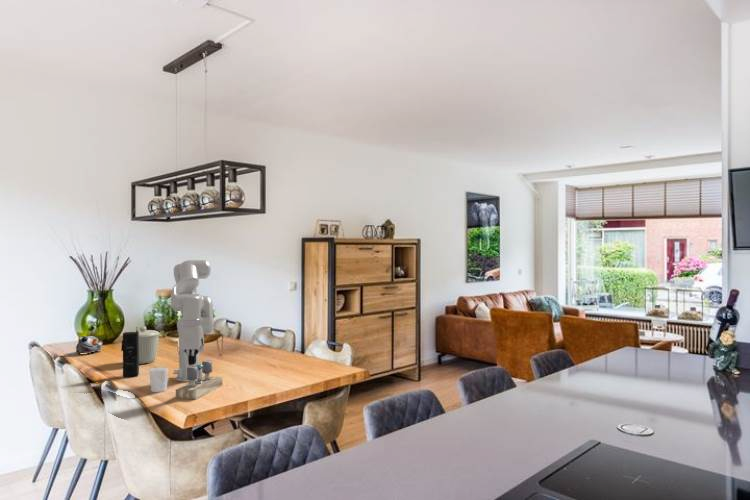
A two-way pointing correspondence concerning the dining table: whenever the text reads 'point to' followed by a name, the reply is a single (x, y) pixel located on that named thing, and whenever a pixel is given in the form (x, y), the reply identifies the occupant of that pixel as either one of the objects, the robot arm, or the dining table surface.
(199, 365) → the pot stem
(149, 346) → the canister
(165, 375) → the white cup
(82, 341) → the lucky cat figurine
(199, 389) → the mount panel
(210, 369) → the knob
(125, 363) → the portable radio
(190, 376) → the knob
